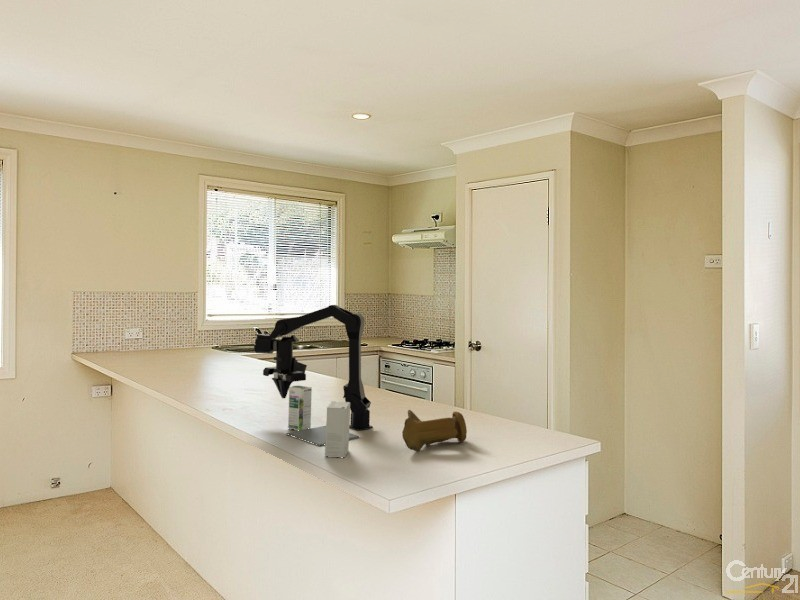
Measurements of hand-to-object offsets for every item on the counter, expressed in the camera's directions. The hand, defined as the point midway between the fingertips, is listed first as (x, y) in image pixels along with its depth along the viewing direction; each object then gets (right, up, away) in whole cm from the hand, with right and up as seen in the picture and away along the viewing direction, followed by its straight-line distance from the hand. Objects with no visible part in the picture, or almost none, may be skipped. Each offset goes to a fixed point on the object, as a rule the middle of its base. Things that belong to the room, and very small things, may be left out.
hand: (283, 398), depth 208 cm
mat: (+16, -10, -16) cm, 25 cm away
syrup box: (+7, -10, -7) cm, 14 cm away
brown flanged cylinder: (+51, -11, -25) cm, 58 cm away
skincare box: (+23, -11, -36) cm, 44 cm away
